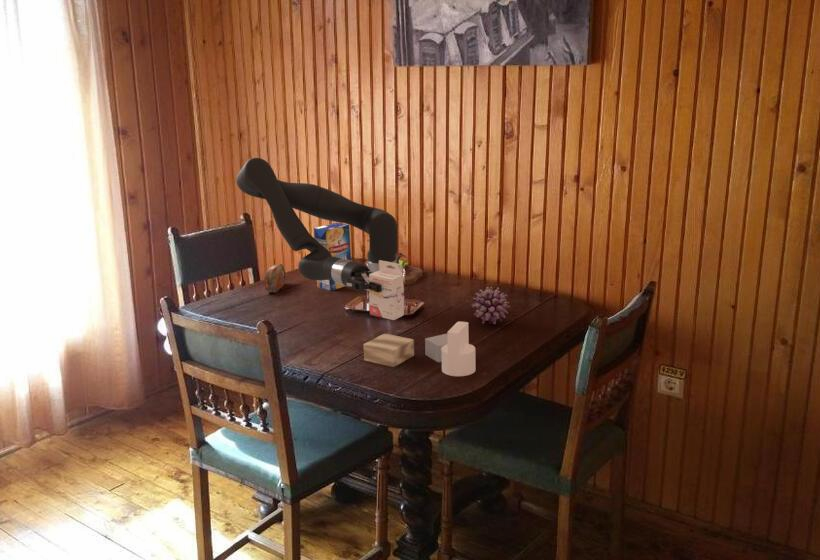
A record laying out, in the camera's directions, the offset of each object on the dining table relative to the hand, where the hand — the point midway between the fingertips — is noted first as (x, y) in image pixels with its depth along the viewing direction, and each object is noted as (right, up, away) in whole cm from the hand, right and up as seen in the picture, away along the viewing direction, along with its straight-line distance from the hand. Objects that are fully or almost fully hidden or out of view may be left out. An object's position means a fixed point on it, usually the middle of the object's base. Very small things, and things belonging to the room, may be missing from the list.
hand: (389, 286), depth 220 cm
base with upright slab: (+19, -22, -3) cm, 29 cm away
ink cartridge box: (-1, -8, +4) cm, 9 cm away
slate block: (+15, -20, +7) cm, 26 cm away
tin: (-43, -2, +74) cm, 86 cm away
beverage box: (-22, -1, +76) cm, 79 cm away
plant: (0, +2, +84) cm, 84 cm away
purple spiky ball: (+30, -12, +32) cm, 45 cm away
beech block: (0, -20, +7) cm, 21 cm away
